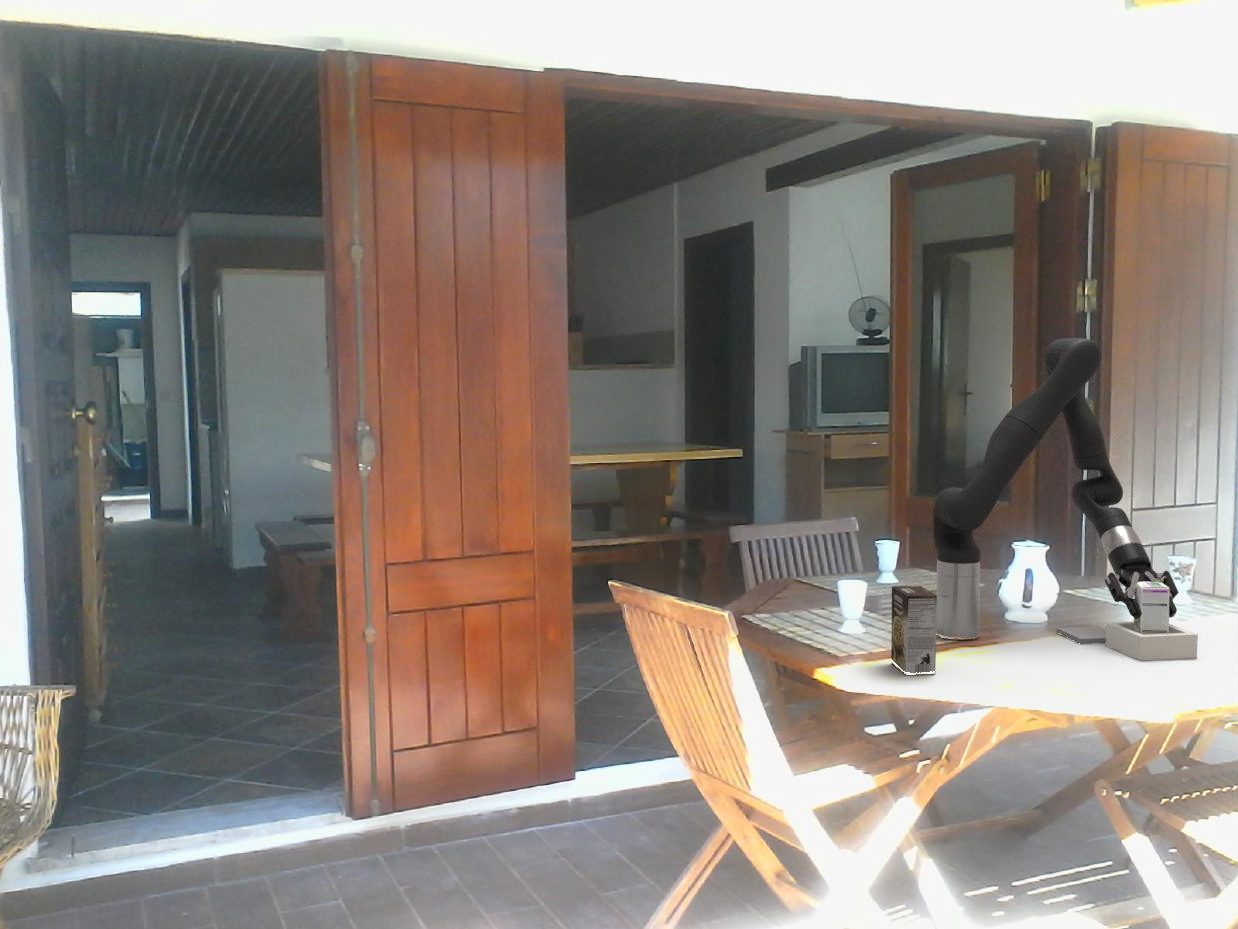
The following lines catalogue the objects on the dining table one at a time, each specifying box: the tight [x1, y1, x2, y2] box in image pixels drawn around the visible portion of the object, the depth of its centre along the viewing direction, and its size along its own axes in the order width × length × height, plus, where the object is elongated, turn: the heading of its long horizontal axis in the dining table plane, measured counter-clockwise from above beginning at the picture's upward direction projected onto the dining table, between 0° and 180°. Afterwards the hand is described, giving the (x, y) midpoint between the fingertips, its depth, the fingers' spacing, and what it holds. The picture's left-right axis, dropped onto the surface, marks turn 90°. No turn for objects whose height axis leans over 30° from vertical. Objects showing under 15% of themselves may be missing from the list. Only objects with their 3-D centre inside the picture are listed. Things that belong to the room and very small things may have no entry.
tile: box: [1056, 625, 1106, 645], centre depth 241 cm, size 10×10×1 cm
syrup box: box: [1133, 581, 1170, 635], centre depth 228 cm, size 6×6×14 cm
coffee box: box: [890, 585, 937, 673], centre depth 217 cm, size 9×6×16 cm
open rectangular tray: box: [1105, 621, 1199, 662], centre depth 228 cm, size 12×12×5 cm
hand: (1155, 616), depth 226 cm, fingers closed on syrup box, 7 cm apart
